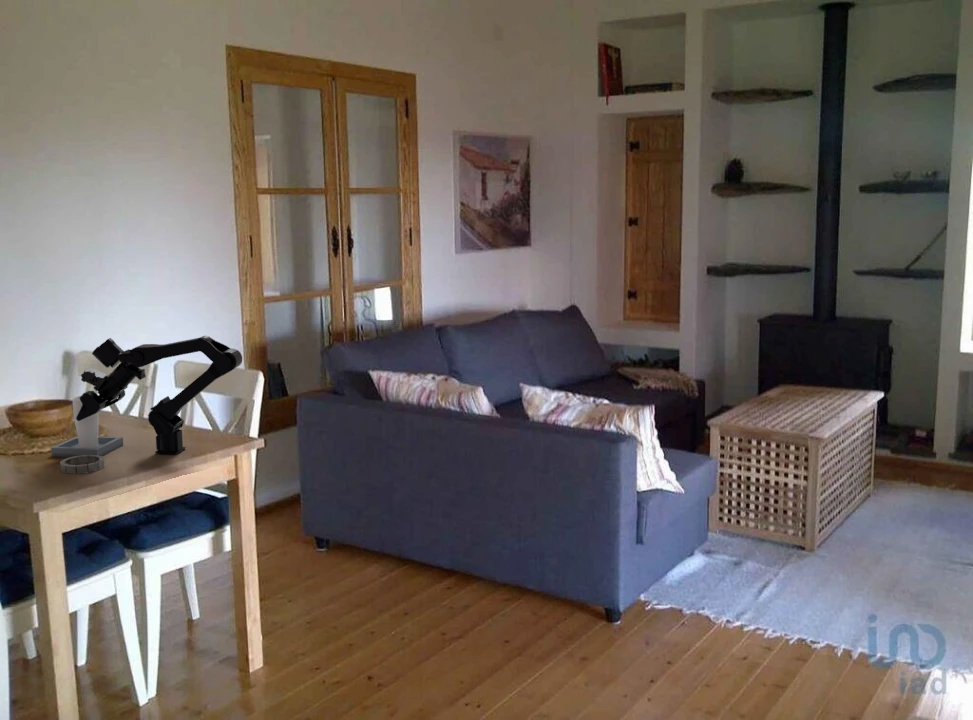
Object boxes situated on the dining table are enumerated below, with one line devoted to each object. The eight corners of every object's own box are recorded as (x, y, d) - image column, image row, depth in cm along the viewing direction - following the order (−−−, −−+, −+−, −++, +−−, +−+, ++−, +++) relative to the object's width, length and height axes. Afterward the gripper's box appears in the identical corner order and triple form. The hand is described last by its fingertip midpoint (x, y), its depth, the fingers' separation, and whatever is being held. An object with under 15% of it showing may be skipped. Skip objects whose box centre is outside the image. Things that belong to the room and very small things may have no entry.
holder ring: (112, 462, 263) (111, 455, 263) (90, 474, 253) (89, 467, 252) (75, 461, 265) (75, 454, 265) (52, 472, 254) (51, 465, 254)
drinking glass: (76, 446, 277) (73, 396, 275) (101, 444, 279) (98, 394, 277) (75, 452, 271) (71, 401, 268) (100, 450, 273) (97, 399, 271)
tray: (123, 445, 281) (122, 437, 281) (97, 458, 268) (96, 449, 267) (79, 443, 283) (79, 435, 283) (51, 456, 270) (51, 447, 269)
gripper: (112, 353, 280) (78, 389, 282) (84, 365, 261) (47, 403, 264) (140, 380, 281) (105, 415, 283) (114, 393, 263) (77, 431, 265)
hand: (84, 416), depth 274 cm, fingers open, 9 cm apart
